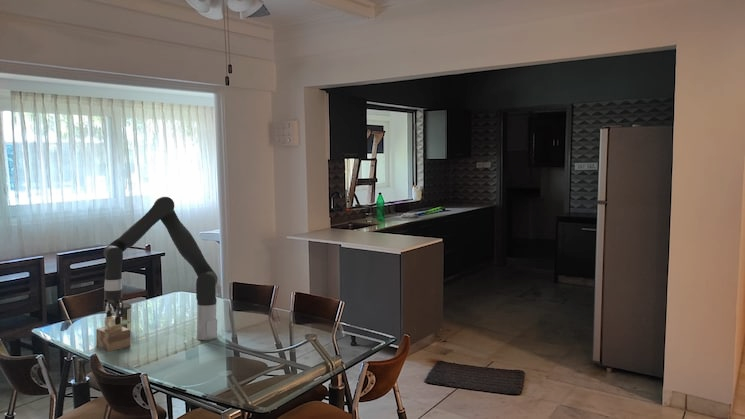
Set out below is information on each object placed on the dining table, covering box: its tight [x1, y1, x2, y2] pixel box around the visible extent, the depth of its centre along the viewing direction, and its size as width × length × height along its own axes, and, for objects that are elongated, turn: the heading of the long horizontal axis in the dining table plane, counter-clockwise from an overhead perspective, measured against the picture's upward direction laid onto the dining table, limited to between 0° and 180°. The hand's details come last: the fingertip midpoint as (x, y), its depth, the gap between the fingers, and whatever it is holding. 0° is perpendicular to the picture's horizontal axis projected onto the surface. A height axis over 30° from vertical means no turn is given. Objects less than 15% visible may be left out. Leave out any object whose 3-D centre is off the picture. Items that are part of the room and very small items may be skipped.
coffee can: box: [111, 302, 133, 334], centre depth 274 cm, size 10×10×14 cm
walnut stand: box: [95, 326, 131, 352], centre depth 254 cm, size 12×10×8 cm
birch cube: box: [104, 316, 122, 332], centre depth 254 cm, size 6×6×6 cm
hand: (113, 322), depth 253 cm, fingers open, 8 cm apart
